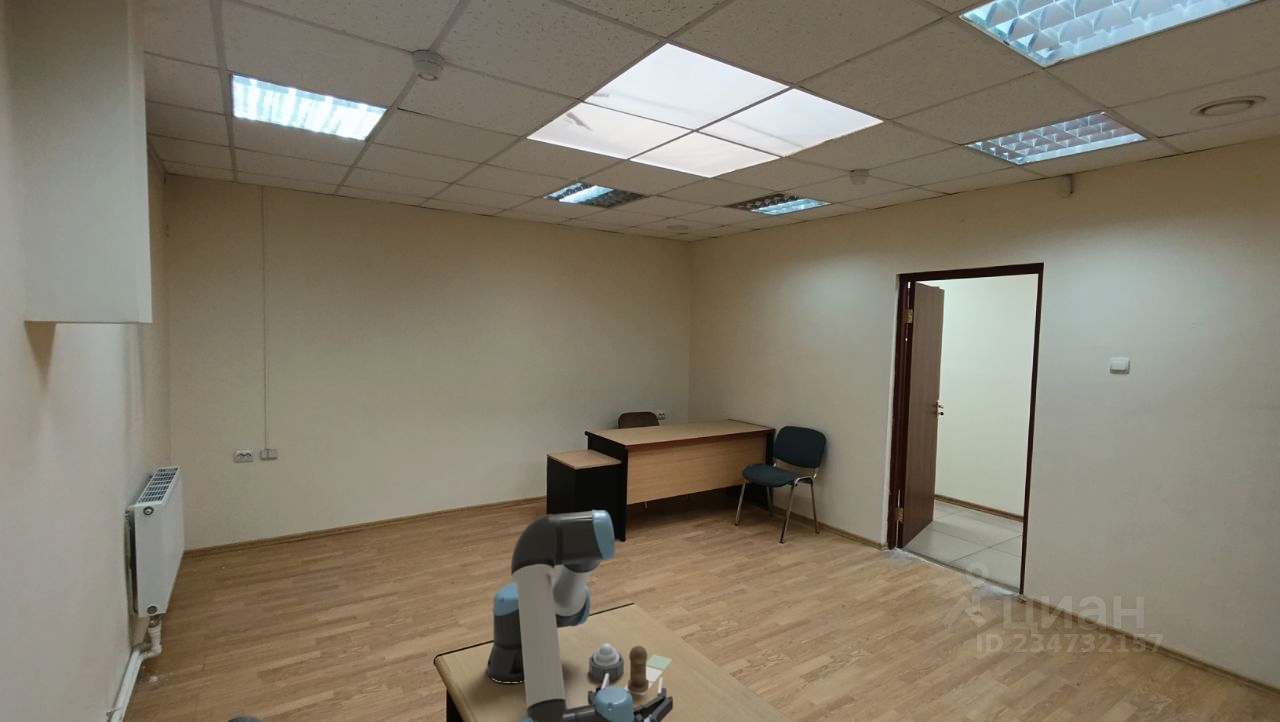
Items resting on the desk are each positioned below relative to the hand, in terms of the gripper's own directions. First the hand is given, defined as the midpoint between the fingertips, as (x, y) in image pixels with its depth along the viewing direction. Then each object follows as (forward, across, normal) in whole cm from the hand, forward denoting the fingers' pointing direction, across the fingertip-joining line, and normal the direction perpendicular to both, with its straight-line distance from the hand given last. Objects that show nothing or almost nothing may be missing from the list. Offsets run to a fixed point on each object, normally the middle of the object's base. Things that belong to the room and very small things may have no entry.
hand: (634, 680), depth 143 cm
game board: (+16, +2, -8) cm, 18 cm away
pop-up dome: (+16, -10, -5) cm, 19 cm away
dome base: (+16, -10, -8) cm, 20 cm away
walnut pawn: (+10, 0, -8) cm, 13 cm away
